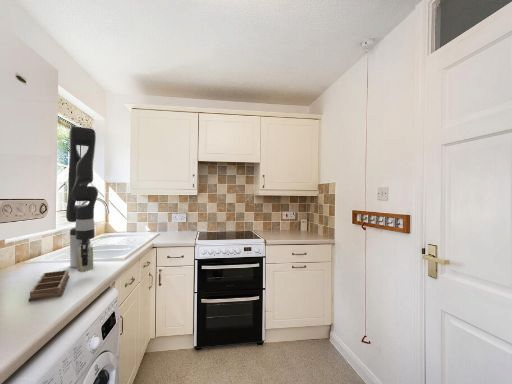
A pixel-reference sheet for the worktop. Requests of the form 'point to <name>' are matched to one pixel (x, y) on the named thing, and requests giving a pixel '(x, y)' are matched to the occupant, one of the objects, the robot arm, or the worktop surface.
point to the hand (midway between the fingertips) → (85, 263)
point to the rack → (49, 285)
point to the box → (90, 260)
